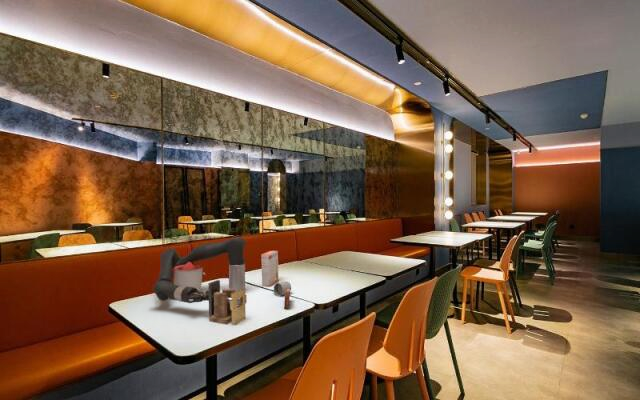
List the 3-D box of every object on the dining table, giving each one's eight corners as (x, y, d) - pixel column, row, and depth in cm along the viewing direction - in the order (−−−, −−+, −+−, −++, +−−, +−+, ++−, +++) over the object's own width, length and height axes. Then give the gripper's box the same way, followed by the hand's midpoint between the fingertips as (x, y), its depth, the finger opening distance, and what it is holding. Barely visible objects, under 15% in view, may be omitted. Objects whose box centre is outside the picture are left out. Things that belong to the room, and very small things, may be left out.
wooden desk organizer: (209, 316, 149) (208, 283, 149) (217, 312, 154) (217, 280, 154) (235, 321, 143) (235, 286, 143) (244, 316, 148) (243, 283, 148)
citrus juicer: (208, 297, 183) (209, 262, 183) (176, 301, 172) (178, 265, 173) (200, 290, 195) (201, 258, 196) (169, 294, 185) (171, 260, 185)
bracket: (209, 321, 146) (208, 293, 146) (223, 313, 155) (223, 287, 155) (226, 324, 142) (226, 295, 142) (240, 316, 151) (239, 289, 151)
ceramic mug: (292, 293, 186) (292, 280, 186) (282, 297, 180) (282, 283, 180) (279, 291, 193) (279, 278, 193) (269, 294, 186) (269, 281, 186)
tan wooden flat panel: (230, 325, 141) (229, 294, 141) (244, 317, 151) (243, 288, 150) (233, 325, 141) (232, 294, 141) (246, 317, 150) (246, 288, 150)
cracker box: (270, 280, 216) (270, 250, 216) (278, 281, 215) (278, 250, 214) (261, 286, 203) (260, 254, 203) (269, 286, 201) (269, 254, 201)
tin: (284, 300, 174) (284, 285, 174) (290, 300, 174) (290, 285, 174) (283, 310, 159) (283, 293, 159) (290, 310, 159) (289, 293, 159)
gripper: (196, 297, 164) (222, 302, 157) (175, 305, 152) (203, 310, 145) (196, 283, 164) (222, 287, 157) (175, 290, 152) (202, 294, 145)
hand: (213, 298), depth 151 cm, fingers closed
